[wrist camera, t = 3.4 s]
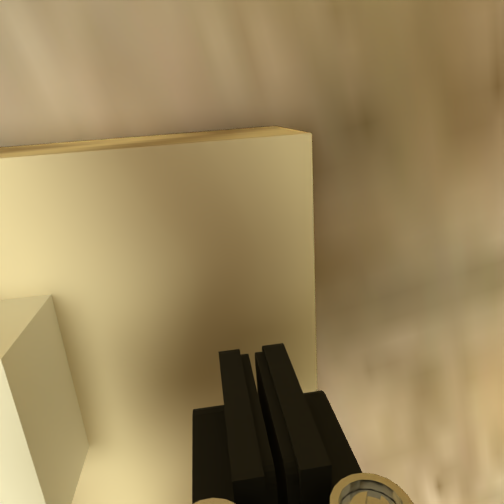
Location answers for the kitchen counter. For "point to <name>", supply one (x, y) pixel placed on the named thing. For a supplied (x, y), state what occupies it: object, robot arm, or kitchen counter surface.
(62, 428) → the cream square block
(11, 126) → the kitchen counter surface
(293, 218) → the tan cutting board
